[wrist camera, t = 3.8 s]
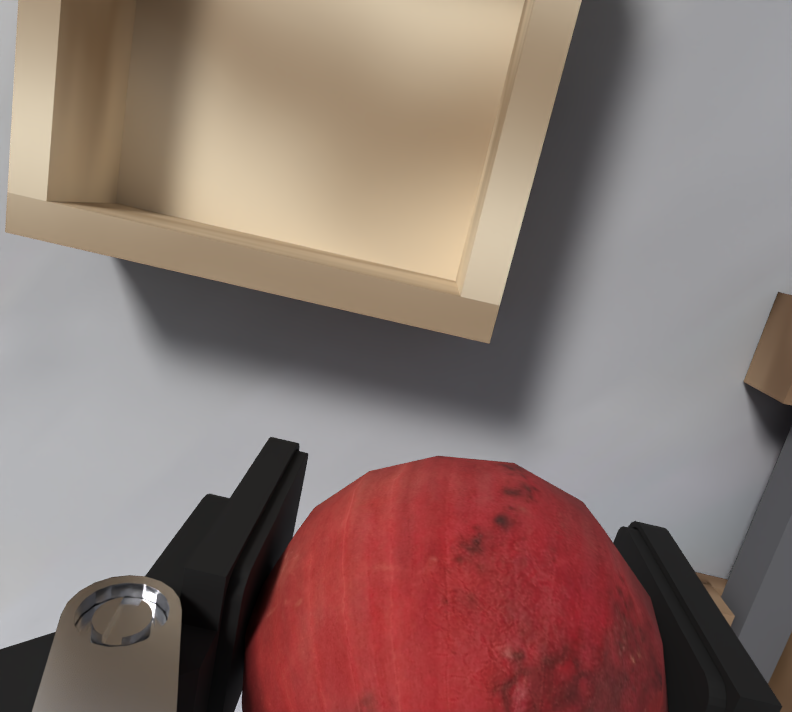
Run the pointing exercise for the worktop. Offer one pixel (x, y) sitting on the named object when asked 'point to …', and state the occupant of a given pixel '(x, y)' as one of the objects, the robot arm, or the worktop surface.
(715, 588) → the clip
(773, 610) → the gray square bar
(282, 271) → the wooden tray
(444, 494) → the onion
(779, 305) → the clip
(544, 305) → the worktop surface
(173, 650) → the robot arm
